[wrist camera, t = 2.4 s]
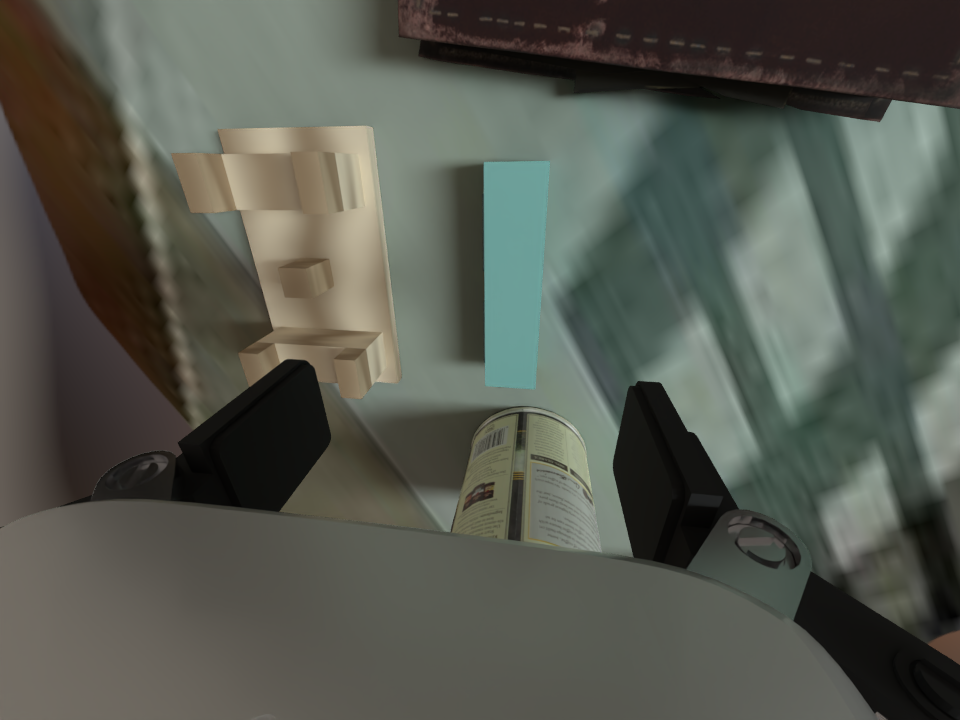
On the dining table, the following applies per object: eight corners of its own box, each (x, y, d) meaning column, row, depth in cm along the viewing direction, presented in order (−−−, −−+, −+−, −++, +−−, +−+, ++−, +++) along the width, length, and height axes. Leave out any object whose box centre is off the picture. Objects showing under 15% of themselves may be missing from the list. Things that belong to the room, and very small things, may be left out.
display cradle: (372, 127, 23) (325, 116, 18) (401, 377, 32) (374, 417, 26) (229, 130, 25) (147, 121, 20) (292, 369, 33) (247, 406, 28)
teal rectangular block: (548, 161, 23) (549, 161, 20) (536, 362, 29) (535, 389, 26) (490, 162, 24) (480, 162, 20) (490, 360, 30) (483, 385, 26)
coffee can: (551, 510, 36) (556, 690, 24) (454, 467, 35) (407, 629, 23) (612, 437, 31) (658, 615, 19) (501, 386, 31) (473, 535, 18)
